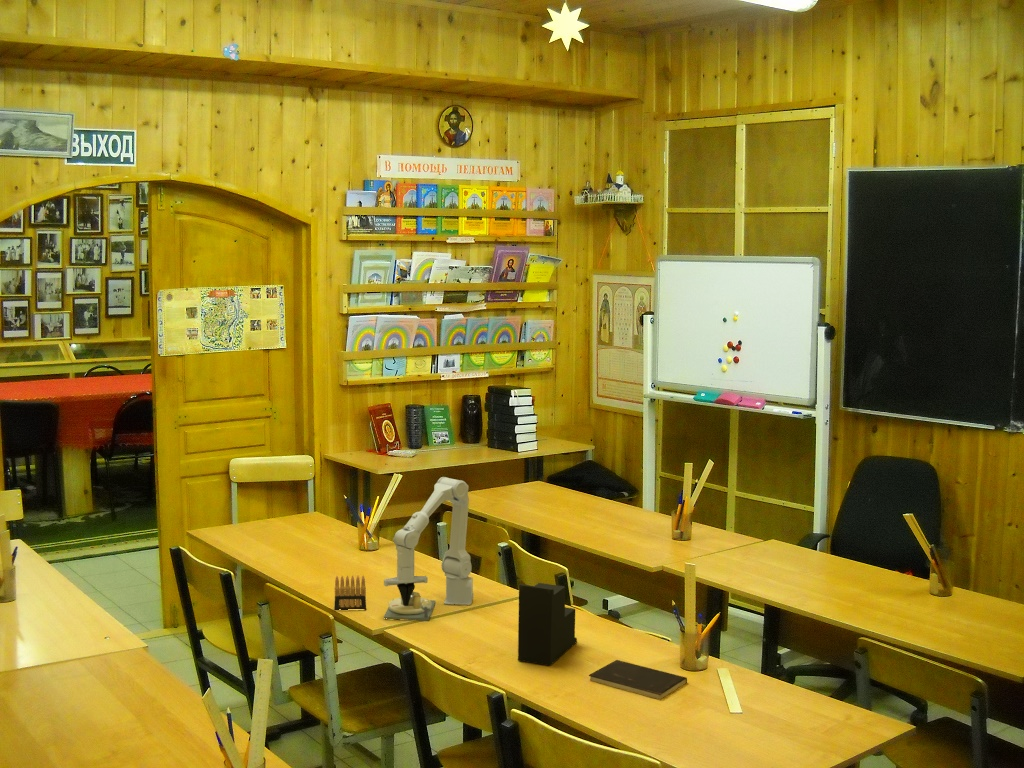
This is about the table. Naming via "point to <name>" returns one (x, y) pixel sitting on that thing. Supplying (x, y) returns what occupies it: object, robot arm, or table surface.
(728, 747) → the table surface
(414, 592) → the cover
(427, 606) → the dial gauge
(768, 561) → the table surface
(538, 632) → the bookend
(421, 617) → the base plate
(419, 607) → the turntable
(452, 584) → the robot arm
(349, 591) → the ammunition clip
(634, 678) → the hardcover book
